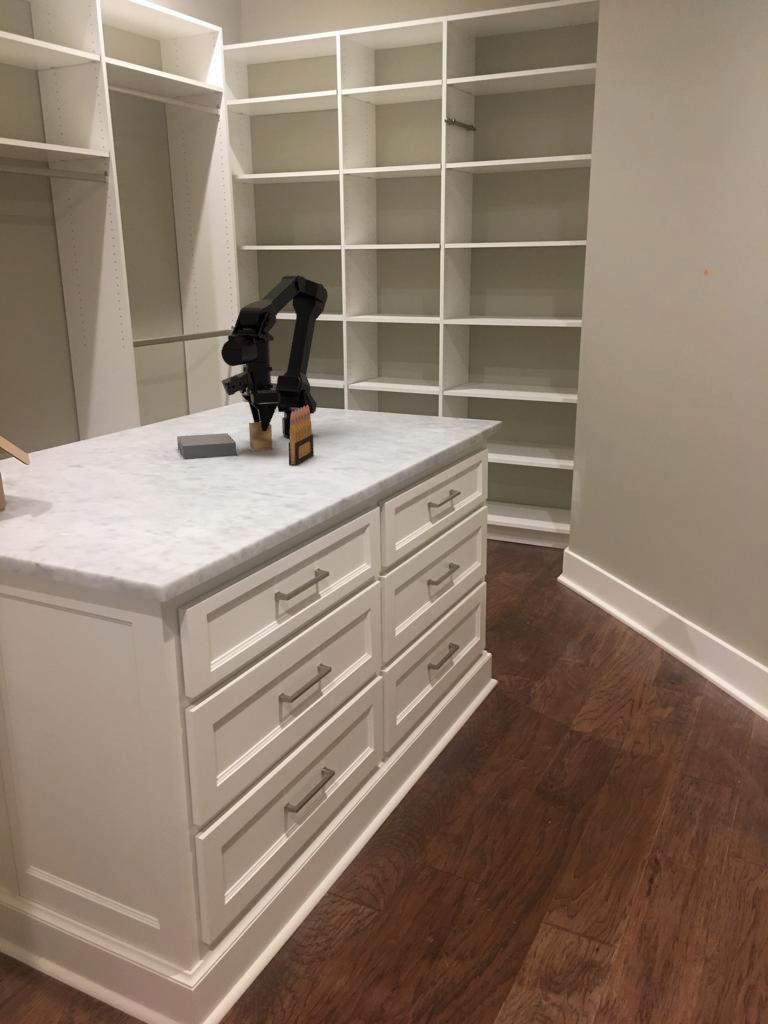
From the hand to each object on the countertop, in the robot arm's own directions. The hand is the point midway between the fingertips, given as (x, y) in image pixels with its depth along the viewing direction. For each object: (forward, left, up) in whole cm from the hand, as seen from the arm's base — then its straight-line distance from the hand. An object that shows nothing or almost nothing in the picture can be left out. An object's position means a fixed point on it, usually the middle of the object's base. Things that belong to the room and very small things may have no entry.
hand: (260, 427), depth 202 cm
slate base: (+13, 0, -5) cm, 14 cm away
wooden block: (0, 0, -5) cm, 5 cm away
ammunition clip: (-6, +16, -5) cm, 18 cm away
